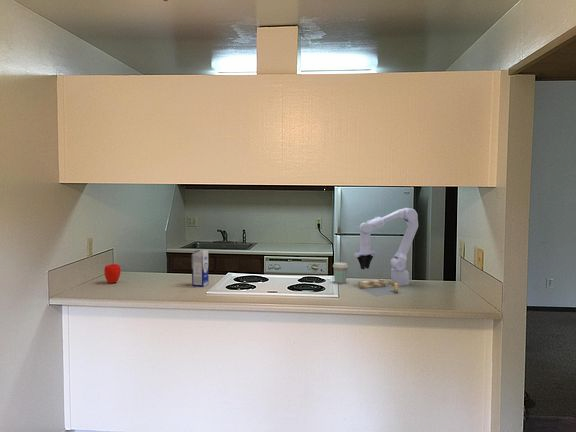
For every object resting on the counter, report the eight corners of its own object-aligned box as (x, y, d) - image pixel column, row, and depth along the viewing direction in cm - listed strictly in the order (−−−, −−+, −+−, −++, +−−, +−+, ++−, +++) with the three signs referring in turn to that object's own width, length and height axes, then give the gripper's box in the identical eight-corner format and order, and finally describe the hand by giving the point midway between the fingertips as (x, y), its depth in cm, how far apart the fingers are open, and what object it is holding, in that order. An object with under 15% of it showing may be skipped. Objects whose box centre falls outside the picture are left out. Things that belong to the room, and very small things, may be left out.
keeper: (388, 290, 236) (388, 280, 236) (392, 290, 237) (393, 280, 236) (394, 293, 230) (395, 283, 229) (399, 293, 230) (399, 283, 230)
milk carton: (203, 287, 247) (202, 251, 246) (192, 286, 249) (191, 250, 248) (208, 284, 254) (208, 249, 253) (197, 283, 256) (197, 248, 255)
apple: (119, 284, 254) (119, 265, 253) (103, 284, 252) (102, 265, 251) (121, 280, 263) (121, 262, 262) (106, 281, 261) (105, 263, 260)
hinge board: (380, 285, 253) (380, 283, 253) (406, 295, 230) (406, 293, 230) (352, 287, 247) (352, 285, 247) (376, 298, 224) (376, 296, 224)
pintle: (382, 279, 247) (382, 278, 247) (384, 280, 246) (384, 279, 245) (379, 279, 247) (379, 278, 247) (380, 280, 245) (381, 279, 245)
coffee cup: (350, 285, 253) (350, 264, 252) (336, 286, 250) (336, 265, 249) (343, 282, 261) (344, 261, 260) (330, 283, 258) (330, 262, 257)
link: (382, 284, 249) (382, 279, 249) (387, 286, 245) (387, 280, 245) (357, 286, 244) (357, 281, 243) (361, 288, 240) (361, 282, 239)
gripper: (368, 242, 256) (368, 266, 257) (350, 244, 247) (350, 269, 248) (378, 243, 250) (377, 268, 251) (360, 246, 241) (359, 271, 242)
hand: (364, 268), depth 249 cm, fingers open, 3 cm apart
